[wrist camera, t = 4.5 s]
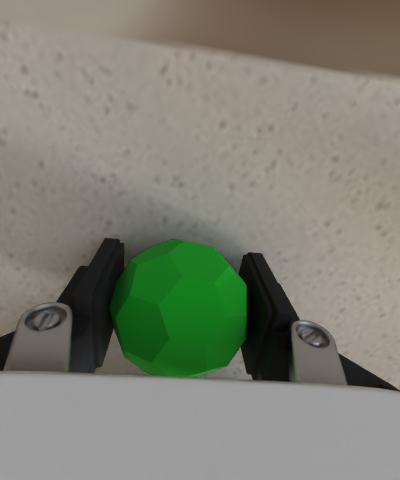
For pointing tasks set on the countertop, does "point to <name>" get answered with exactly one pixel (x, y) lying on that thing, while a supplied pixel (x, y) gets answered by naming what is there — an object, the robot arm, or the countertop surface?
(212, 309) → the polyhedron
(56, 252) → the countertop surface
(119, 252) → the robot arm
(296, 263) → the countertop surface
